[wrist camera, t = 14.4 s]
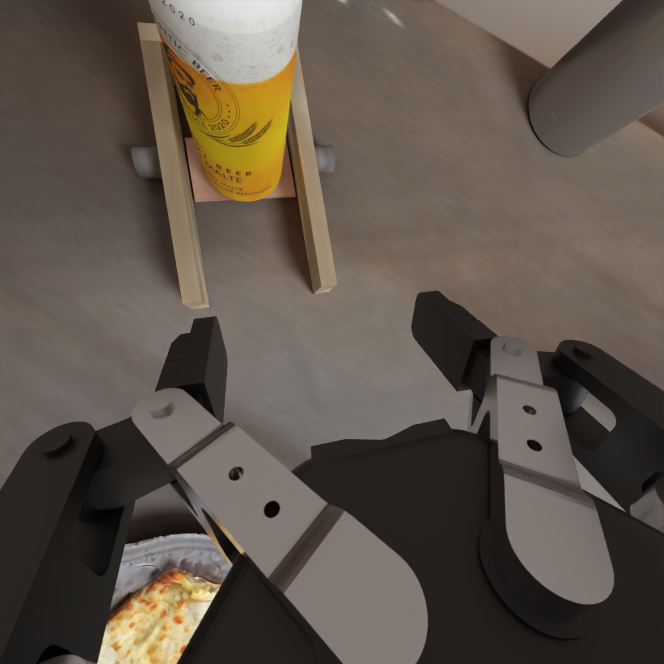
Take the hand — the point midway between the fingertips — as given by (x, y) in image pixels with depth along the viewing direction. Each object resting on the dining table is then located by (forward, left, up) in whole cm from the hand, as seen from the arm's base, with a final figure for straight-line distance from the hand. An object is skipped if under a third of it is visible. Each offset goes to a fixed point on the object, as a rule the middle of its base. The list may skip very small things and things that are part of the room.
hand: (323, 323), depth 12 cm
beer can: (+2, -14, -13) cm, 19 cm away
